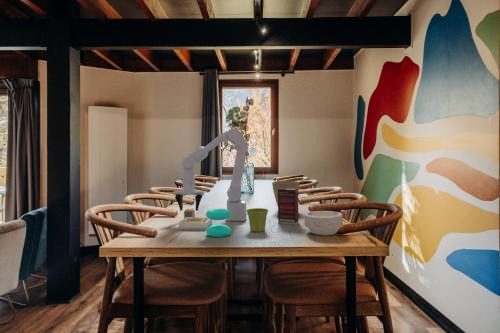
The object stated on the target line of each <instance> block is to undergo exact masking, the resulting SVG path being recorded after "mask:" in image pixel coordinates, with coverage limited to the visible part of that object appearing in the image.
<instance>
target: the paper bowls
mask: <svg viewBox="0 0 500 333" xmlns="http://www.w3.org/2000/svg"><path fill="white" fill-rule="evenodd" d="M343 219H344V216H343V213H342V212H338V211H333V210H316V211H309V212H306V213H304V226H305V227H307V228H308V229H309V231H310V233H312V234H314V235H318V236H333V235H335V234H337V233H338V231H339V229H340V228H343V226H344V220H343Z"/></svg>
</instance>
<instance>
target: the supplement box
mask: <svg viewBox="0 0 500 333" xmlns="http://www.w3.org/2000/svg"><path fill="white" fill-rule="evenodd" d="M277 216H278V217H277V220H278V224H282V225H298V224H299V220H300V219H299V190H298V189H286V188H280V189H278V206H277Z"/></svg>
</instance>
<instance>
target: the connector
mask: <svg viewBox="0 0 500 333" xmlns="http://www.w3.org/2000/svg"><path fill="white" fill-rule="evenodd" d="M195 211H196V209H194V208H185V209H184V211H183V217H184V218H183V219H185V218H186V217H196V216H195V215H196V214H195Z"/></svg>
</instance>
